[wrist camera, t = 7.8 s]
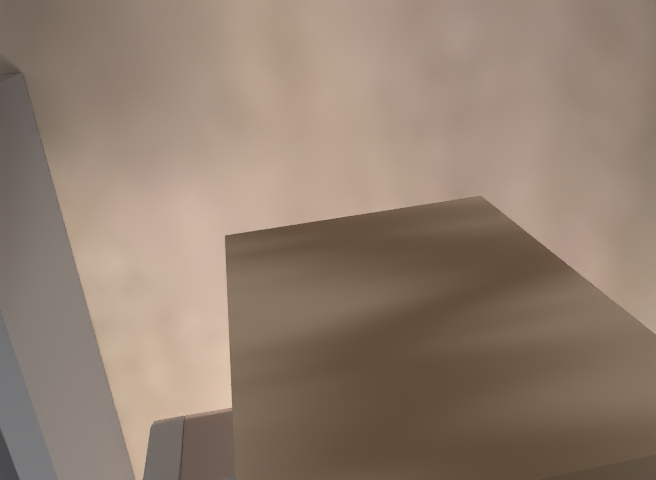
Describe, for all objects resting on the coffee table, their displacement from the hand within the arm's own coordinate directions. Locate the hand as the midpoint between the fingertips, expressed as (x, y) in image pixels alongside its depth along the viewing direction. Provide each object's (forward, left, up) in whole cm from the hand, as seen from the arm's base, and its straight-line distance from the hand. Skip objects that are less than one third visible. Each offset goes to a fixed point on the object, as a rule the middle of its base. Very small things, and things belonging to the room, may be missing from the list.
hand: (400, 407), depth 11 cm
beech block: (0, 0, -3) cm, 3 cm away
